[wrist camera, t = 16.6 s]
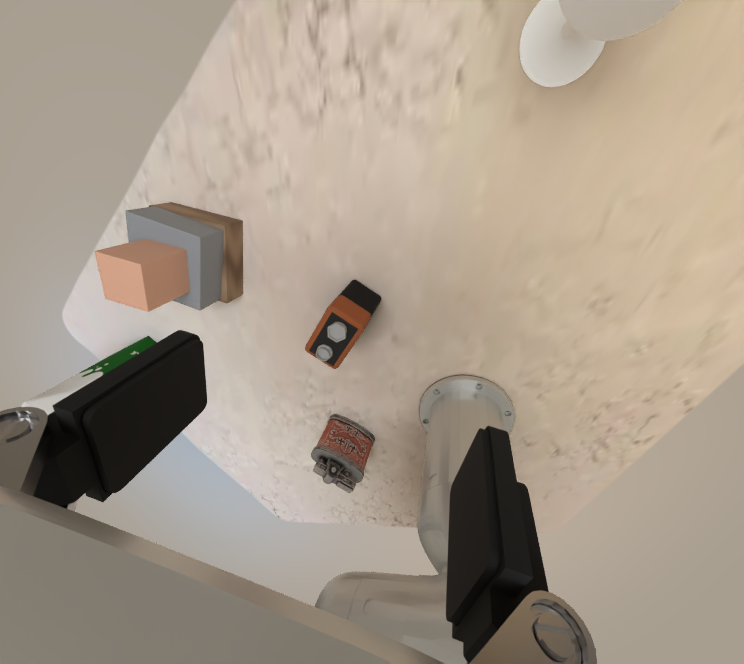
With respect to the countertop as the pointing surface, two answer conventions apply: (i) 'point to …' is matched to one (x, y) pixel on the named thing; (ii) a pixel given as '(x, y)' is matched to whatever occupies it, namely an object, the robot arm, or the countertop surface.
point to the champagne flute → (580, 34)
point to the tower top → (188, 235)
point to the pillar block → (143, 273)
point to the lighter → (342, 452)
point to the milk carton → (86, 376)
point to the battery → (342, 324)
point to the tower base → (231, 246)
